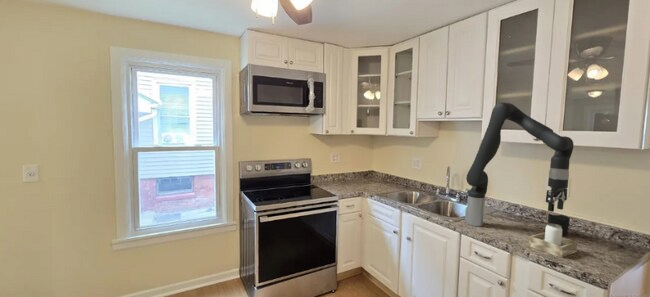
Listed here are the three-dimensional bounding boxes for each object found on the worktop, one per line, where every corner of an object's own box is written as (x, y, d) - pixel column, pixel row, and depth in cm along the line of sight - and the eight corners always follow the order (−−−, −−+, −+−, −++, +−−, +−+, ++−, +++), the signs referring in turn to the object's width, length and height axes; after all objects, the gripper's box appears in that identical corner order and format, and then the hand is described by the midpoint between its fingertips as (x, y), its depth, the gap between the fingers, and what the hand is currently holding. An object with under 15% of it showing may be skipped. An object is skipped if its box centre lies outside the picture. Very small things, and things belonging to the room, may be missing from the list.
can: (552, 246, 145) (554, 223, 144) (564, 251, 138) (566, 227, 137) (540, 246, 144) (542, 222, 143) (551, 251, 138) (553, 227, 137)
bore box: (528, 246, 144) (529, 236, 144) (543, 241, 150) (544, 232, 150) (561, 257, 131) (562, 247, 131) (576, 252, 138) (577, 242, 137)
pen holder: (564, 237, 156) (566, 220, 155) (544, 232, 163) (545, 215, 163) (570, 234, 161) (572, 217, 160) (550, 229, 169) (551, 212, 168)
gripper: (557, 175, 144) (554, 206, 146) (541, 177, 138) (538, 209, 139) (575, 178, 138) (572, 210, 139) (560, 180, 131) (556, 214, 133)
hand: (555, 210), depth 139 cm, fingers open, 8 cm apart
